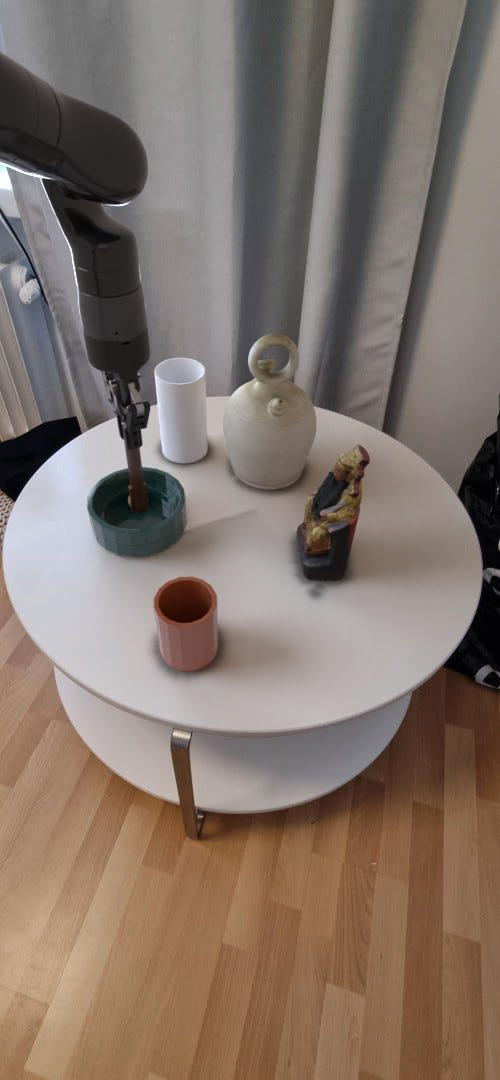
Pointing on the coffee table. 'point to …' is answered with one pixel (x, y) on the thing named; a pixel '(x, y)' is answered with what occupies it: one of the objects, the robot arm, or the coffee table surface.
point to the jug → (269, 421)
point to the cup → (182, 409)
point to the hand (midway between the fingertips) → (131, 441)
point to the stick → (136, 481)
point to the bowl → (134, 530)
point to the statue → (332, 519)
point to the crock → (187, 623)
